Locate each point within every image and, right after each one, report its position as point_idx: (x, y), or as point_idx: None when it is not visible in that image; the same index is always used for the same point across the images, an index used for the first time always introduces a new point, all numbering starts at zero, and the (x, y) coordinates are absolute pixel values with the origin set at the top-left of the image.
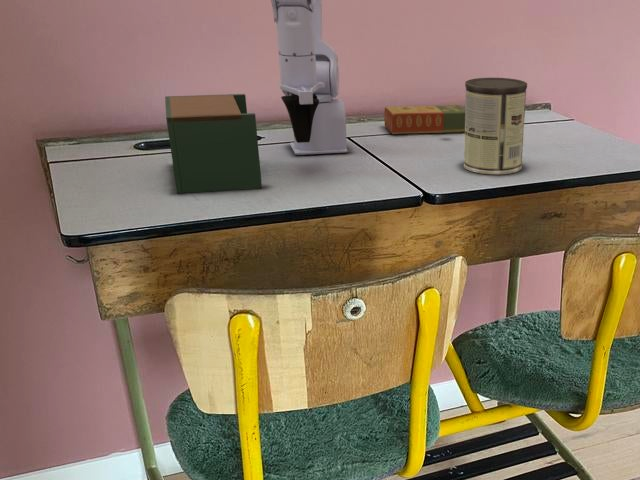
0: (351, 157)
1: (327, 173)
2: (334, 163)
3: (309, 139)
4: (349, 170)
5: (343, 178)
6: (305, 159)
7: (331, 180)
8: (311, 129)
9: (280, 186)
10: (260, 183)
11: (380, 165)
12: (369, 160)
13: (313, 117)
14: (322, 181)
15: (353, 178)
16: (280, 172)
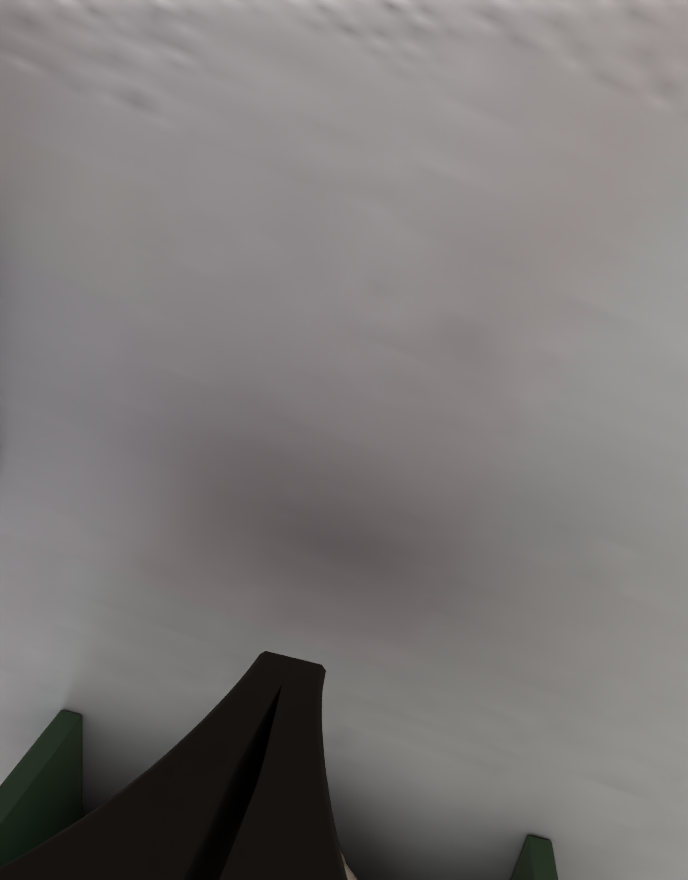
0: (83, 167)
1: (425, 474)
2: (208, 343)
3: (323, 680)
4: (416, 318)
5: (588, 431)
6: (72, 468)
7: (593, 514)
8: (316, 732)
9: (562, 768)
10: (554, 867)
11: (375, 21)
12: (200, 56)
13: (333, 842)
14: (585, 566)
15: (625, 372)
16: None
